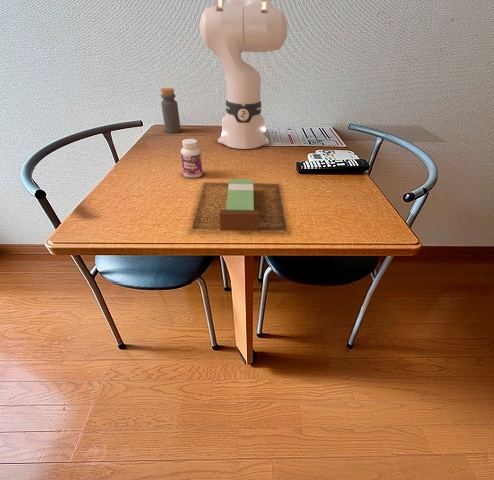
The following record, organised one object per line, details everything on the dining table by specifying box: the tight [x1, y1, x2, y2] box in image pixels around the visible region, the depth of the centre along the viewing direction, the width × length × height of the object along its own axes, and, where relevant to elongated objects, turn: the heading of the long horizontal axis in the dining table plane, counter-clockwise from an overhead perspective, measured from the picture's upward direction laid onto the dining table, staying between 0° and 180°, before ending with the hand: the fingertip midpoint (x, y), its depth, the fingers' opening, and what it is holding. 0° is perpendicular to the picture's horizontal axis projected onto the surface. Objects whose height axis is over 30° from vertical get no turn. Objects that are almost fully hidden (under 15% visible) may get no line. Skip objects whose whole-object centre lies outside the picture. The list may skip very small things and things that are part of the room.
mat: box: [191, 182, 287, 232], centre depth 68 cm, size 22×20×5 cm
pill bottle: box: [180, 138, 203, 179], centre depth 79 cm, size 5×5×10 cm
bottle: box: [160, 87, 182, 134], centre depth 109 cm, size 6×6×15 cm
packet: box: [225, 178, 255, 210], centre depth 68 cm, size 2×6×14 cm
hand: (242, 12), depth 60 cm, fingers open, 8 cm apart
